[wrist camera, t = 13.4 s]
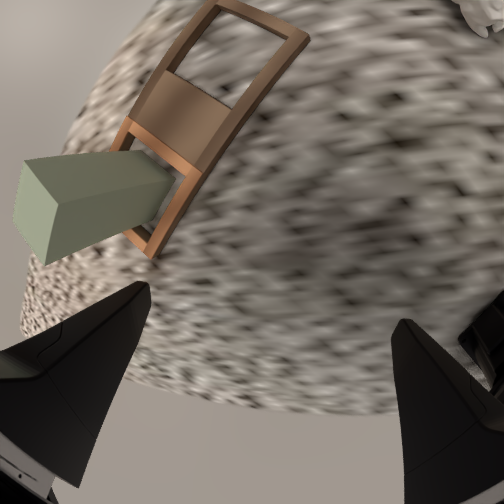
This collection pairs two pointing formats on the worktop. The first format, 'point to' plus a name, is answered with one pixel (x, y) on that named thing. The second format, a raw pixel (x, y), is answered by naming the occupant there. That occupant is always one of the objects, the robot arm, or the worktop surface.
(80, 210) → the sage peg
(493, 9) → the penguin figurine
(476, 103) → the worktop surface
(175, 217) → the copper brown frame
